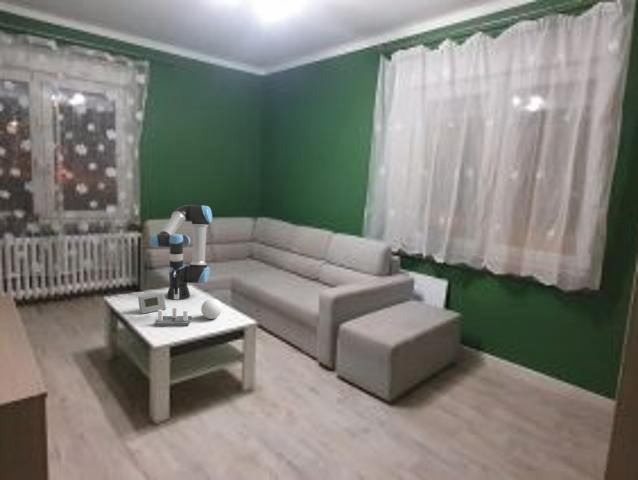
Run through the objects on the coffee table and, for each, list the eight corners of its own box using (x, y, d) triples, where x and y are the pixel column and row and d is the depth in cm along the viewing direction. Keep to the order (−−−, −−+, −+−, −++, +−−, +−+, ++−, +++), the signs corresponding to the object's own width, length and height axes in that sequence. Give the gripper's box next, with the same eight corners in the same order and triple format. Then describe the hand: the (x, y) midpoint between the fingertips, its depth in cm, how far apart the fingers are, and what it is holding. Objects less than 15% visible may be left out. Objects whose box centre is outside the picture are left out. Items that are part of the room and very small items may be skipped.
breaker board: (160, 319, 248) (160, 315, 247) (191, 319, 250) (191, 315, 250) (155, 326, 236) (155, 323, 236) (188, 326, 238) (188, 323, 238)
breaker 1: (159, 319, 240) (158, 309, 239) (162, 319, 240) (162, 309, 240) (157, 321, 238) (157, 311, 237) (161, 321, 238) (161, 311, 237)
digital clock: (139, 315, 253) (139, 298, 251) (137, 310, 261) (136, 294, 259) (167, 311, 262) (167, 295, 260) (164, 307, 269) (164, 291, 267)
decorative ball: (225, 317, 256) (225, 298, 254) (212, 323, 245) (212, 303, 243) (210, 313, 261) (210, 295, 259) (197, 319, 250) (197, 300, 248)
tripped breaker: (173, 316, 246) (173, 306, 245) (176, 316, 246) (176, 306, 245) (172, 318, 244) (172, 308, 243) (176, 318, 244) (176, 308, 243)
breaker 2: (184, 319, 242) (184, 309, 241) (187, 319, 242) (187, 309, 241) (183, 321, 240) (183, 311, 239) (186, 321, 240) (186, 311, 239)
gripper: (172, 258, 252) (172, 295, 255) (167, 262, 239) (167, 302, 243) (184, 258, 253) (184, 295, 256) (180, 262, 240) (180, 302, 244)
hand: (176, 298), depth 249 cm, fingers closed
